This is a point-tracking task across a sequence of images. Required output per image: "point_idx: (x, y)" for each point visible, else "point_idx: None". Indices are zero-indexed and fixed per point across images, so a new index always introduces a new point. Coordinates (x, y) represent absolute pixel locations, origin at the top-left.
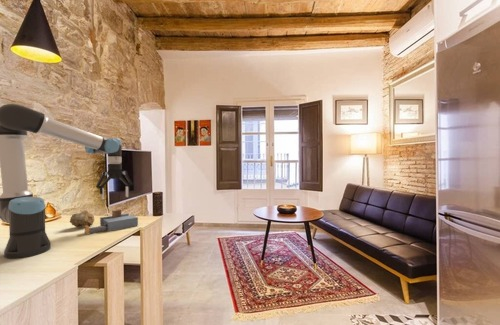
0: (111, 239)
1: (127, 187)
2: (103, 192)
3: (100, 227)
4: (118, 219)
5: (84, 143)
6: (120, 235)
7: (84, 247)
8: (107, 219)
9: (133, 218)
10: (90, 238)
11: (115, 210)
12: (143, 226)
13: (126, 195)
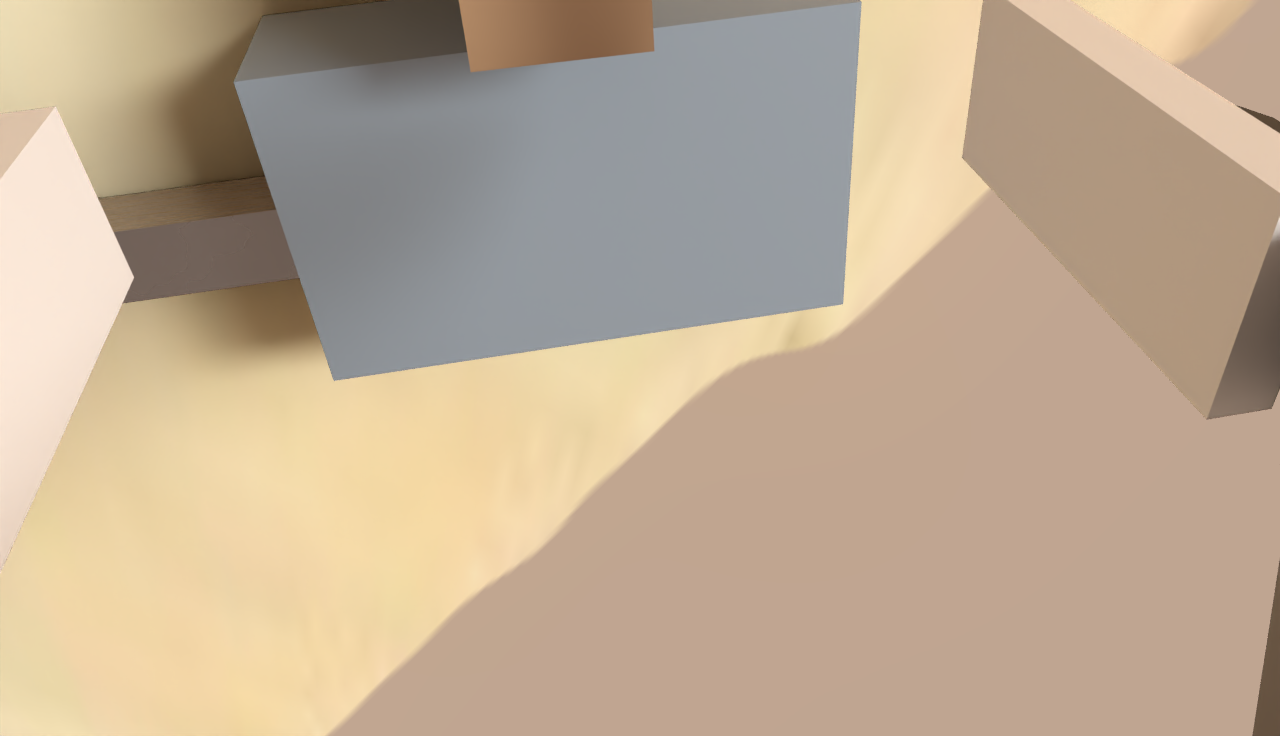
0: (372, 626)
1: (1207, 386)
2: (18, 470)
3: (212, 288)
4: (520, 267)
5: None
6: (476, 548)
7: (128, 721)
8: (317, 129)
9: (765, 310)
10: (128, 497)
11: (514, 8)
12: (838, 318)
13: (999, 106)
